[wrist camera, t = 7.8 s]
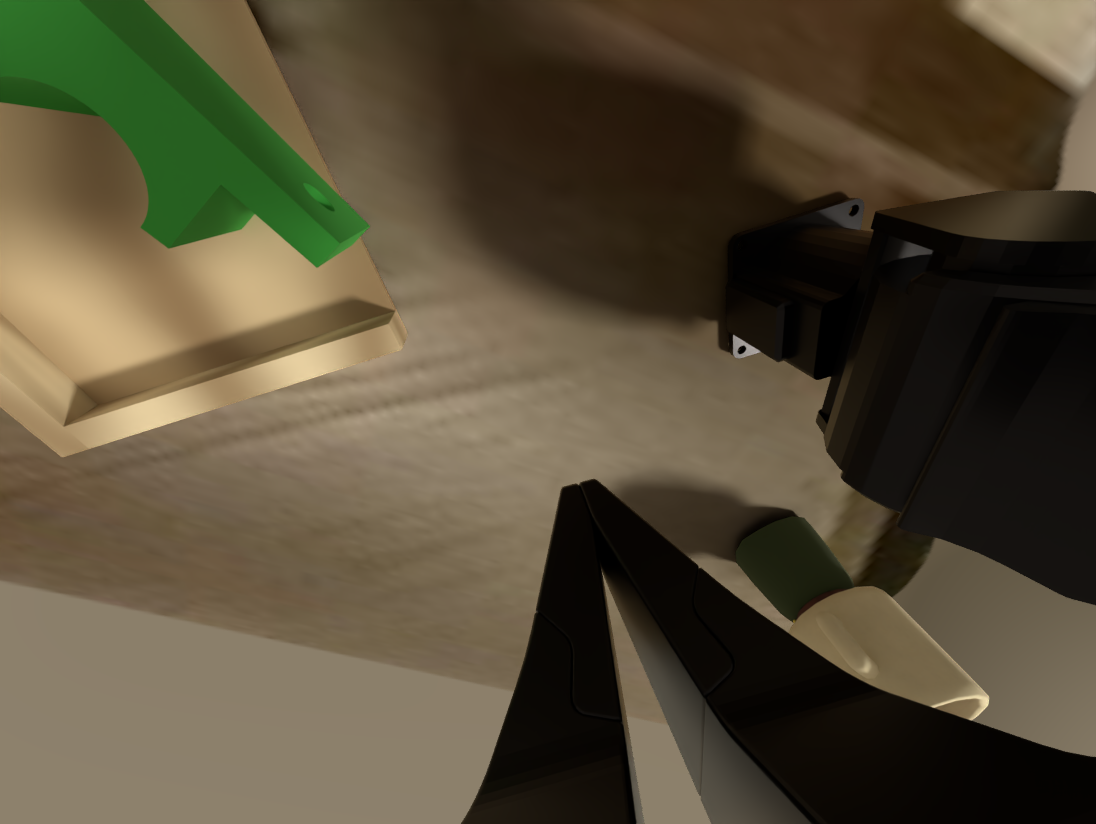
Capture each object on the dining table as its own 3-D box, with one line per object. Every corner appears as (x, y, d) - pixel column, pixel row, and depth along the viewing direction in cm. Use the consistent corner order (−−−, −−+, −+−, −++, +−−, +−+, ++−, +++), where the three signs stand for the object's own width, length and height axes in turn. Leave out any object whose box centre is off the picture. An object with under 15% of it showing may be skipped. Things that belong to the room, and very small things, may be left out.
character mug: (697, 536, 30) (826, 743, 19) (777, 479, 29) (970, 671, 18) (760, 586, 36) (891, 771, 25) (831, 539, 34) (1007, 718, 23)
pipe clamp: (-39, -7, 12) (-299, -99, 8) (23, -123, 11) (-233, -292, 7) (312, 289, 17) (264, 323, 13) (371, 227, 16) (339, 243, 12)
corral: (90, -320, 10) (9, -425, 8) (408, 333, 19) (401, 349, 17) (-523, -131, 9) (-738, -197, 8) (98, 431, 19) (61, 457, 17)
